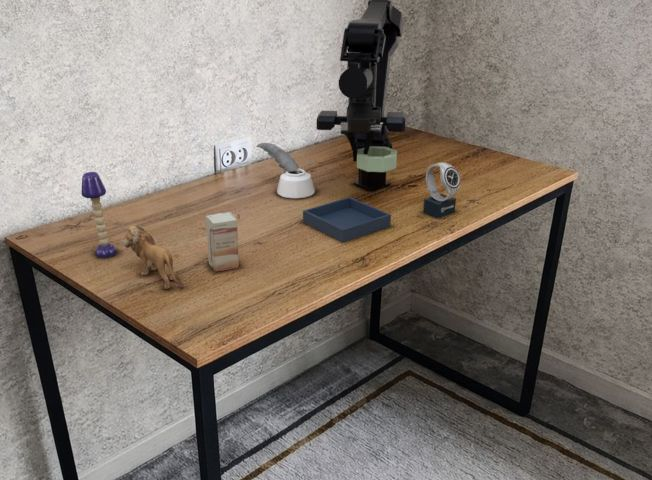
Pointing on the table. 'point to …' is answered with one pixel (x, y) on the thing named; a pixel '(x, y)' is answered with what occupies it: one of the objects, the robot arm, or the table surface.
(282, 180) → the inkwell
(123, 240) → the lion figurine
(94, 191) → the toy lamp
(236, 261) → the small carton box
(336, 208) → the tray
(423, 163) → the table surface
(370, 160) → the ring
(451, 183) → the watch
